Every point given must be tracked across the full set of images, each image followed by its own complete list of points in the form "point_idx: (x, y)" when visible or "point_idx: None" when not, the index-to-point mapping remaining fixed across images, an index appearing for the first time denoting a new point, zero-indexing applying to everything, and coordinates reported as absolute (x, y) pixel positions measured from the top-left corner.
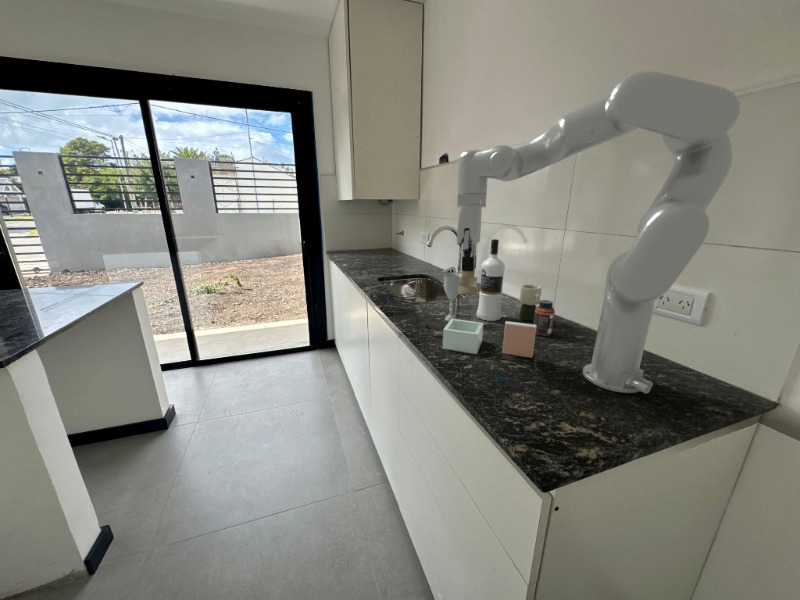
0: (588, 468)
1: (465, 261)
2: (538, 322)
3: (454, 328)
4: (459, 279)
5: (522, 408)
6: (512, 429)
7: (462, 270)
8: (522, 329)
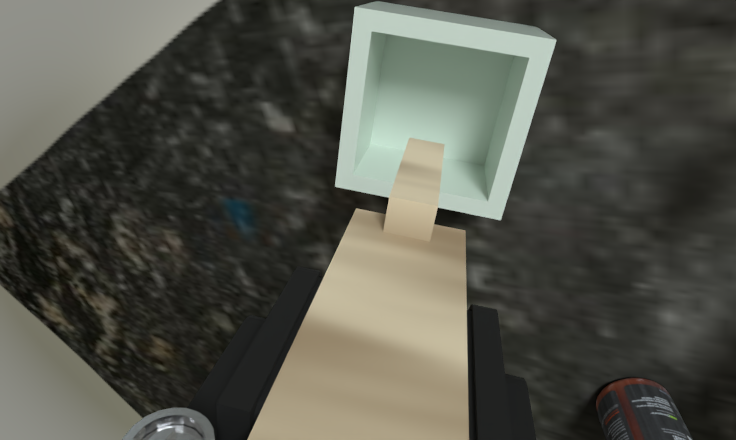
0: (18, 300)
1: (209, 384)
2: (626, 424)
3: (520, 57)
4: (391, 190)
5: (121, 241)
6: (40, 208)
7: (299, 272)
8: None
